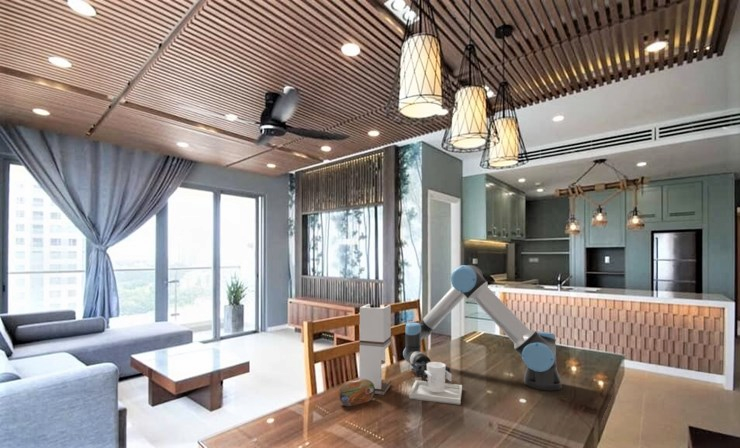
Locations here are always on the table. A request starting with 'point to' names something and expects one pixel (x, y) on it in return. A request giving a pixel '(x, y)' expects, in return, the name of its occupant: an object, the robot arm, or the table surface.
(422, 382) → the tray
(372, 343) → the white tall box
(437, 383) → the white cup
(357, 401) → the tin
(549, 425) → the table surface
